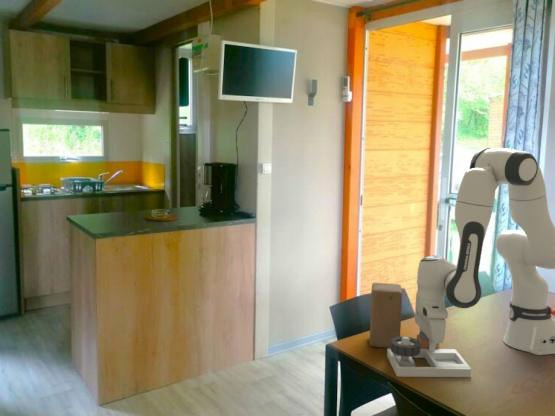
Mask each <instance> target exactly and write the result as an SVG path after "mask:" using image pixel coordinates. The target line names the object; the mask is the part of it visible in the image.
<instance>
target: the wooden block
mask: <svg viewBox="0 0 555 416" xmlns="http://www.w3.org/2000/svg"><path fill="white" fill-rule="evenodd" d="M370 296H371V297H370V320H369V323H370V324H369V346H371V347H372V348H373V347H375V348H386V349H390V347H391V339H392V338H394V337H399V336H401V330H402V329H401V326H402V325H401V323H402V301H403V291H402V285H401V284H399V283H383V282H373V283H372V285H371V292H370Z"/></svg>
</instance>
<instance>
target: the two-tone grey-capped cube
mask: <svg viewBox="0 0 555 416" xmlns="http://www.w3.org/2000/svg"><path fill="white" fill-rule="evenodd" d="M416 339H417V340H418V341H420V343H421V349H428V345H429V343H430V341H429V338H428V337H427V336H426V335H425V333H424V332H420V331H419V332H418V334H416ZM435 349H440V343H437V344H436V346H435Z"/></svg>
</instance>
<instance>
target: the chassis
mask: <svg viewBox="0 0 555 416" xmlns="http://www.w3.org/2000/svg"><path fill="white" fill-rule="evenodd" d="M409 337H410V336H406V337H402V345H405V346H410V338H409ZM386 356H387V357H386V358H387V359H388V361H389V364H390V365H391V367H392V369H393V372H394V374H395V375H396V377H403V378H404V377H405V378H407V377H413V378H414V377H415V378H416V377H419V378H425V377H426V378H430V377H431V378H432V377H435V378H471V377H472V368H471V366H470V365H469V364H468V363H467V362H466V360H465V359H464V358H463V356H462V355H461V354H460V353H459V352H458V350H457V349H456V348H454V349H453V348H450V349H449V348H439V349H435V351H434V352H430V351H429V350H428V349H421V350H420V354H419V355H417V356H412V357H405V356H400V355H398V354H395V353H393V352H392V351H391V349H390V348H386ZM414 359H425V360H426V361H427V363H428V365H429V366H416V363H415V361H414Z"/></svg>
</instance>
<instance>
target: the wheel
mask: <svg viewBox="0 0 555 416" xmlns="http://www.w3.org/2000/svg"><path fill="white" fill-rule="evenodd" d="M402 337H407V336H401V335H400V336H399V337H394V338H392V339H391V347H390V348H389V349H391V351H392V352H393V353H395V354H398V355H400V356H405V357H412V356H417V355H419V354H420V350H421V343H420V341H418V340H417V338H413V337H411V336H408V337H409V338H410V346H405V345H402Z"/></svg>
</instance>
